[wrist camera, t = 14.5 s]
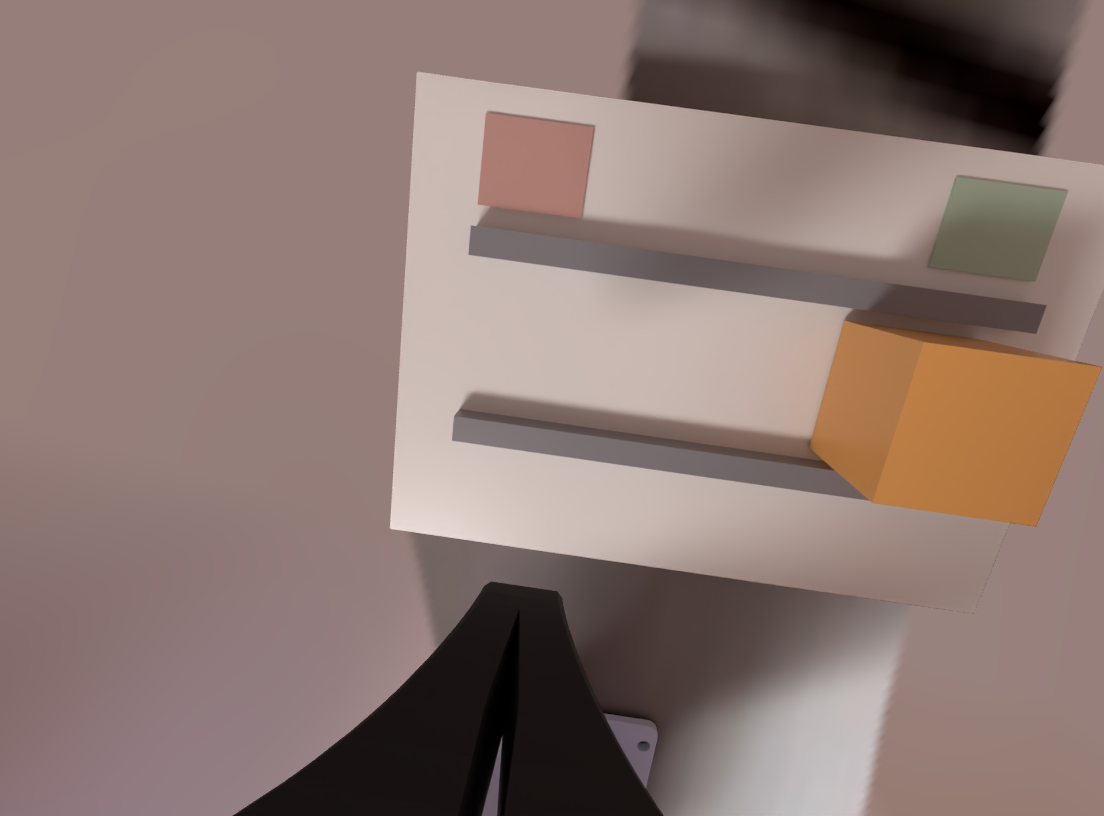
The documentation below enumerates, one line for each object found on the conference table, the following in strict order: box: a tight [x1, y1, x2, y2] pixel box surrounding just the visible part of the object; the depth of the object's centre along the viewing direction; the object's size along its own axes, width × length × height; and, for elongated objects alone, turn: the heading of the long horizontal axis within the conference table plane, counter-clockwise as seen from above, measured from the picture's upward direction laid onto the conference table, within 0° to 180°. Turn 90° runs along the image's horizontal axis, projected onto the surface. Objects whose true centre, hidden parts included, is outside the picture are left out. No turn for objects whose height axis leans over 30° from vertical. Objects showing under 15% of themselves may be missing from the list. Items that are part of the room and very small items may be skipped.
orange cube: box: [809, 321, 1102, 527], centre depth 15 cm, size 4×4×4 cm
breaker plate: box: [390, 72, 1104, 614], centre depth 18 cm, size 14×20×3 cm
